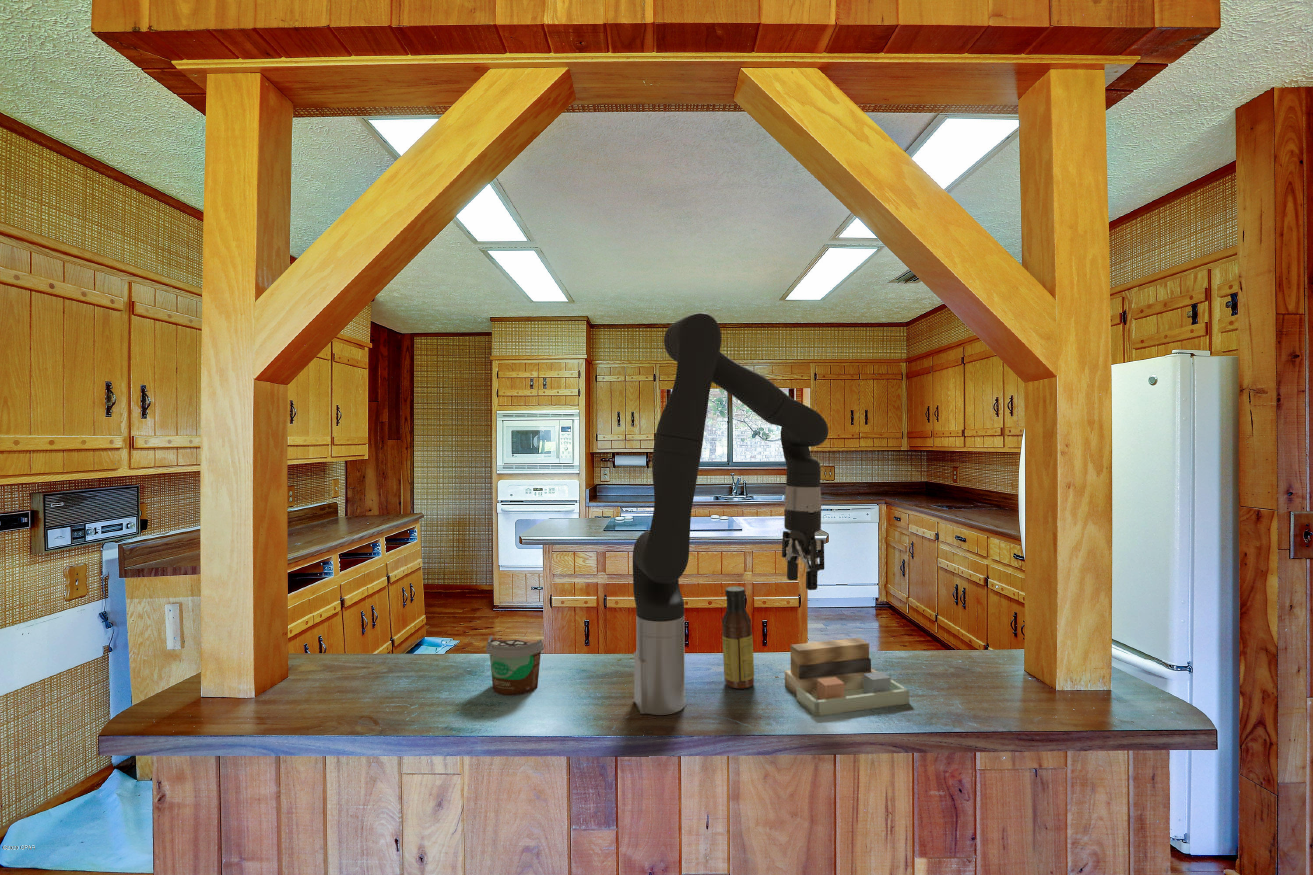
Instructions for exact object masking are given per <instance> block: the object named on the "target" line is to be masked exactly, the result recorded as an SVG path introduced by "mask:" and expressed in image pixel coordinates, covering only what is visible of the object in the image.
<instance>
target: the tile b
mask: <svg viewBox="0 0 1313 875" xmlns="http://www.w3.org/2000/svg"><path fill="white" fill-rule="evenodd" d="M891 680H892V679H891V677H890V676H889V675H888V674H886V673H883V672H882V671H877V672H874V673H866V674H863V694H869V693H876V692H884V691H891Z"/></svg>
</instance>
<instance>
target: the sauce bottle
mask: <svg viewBox="0 0 1313 875" xmlns="http://www.w3.org/2000/svg"><path fill="white" fill-rule="evenodd" d="M724 590H725V597H726V611H725V612H724V614H723V616H722V619H721V625H722V627H721V628H722V633H721V634H722V636H721V637H722V639H721V640H722V656H723V677H724V681H725V684H726V685H727V686H728V687H729V688H733V689H739V690H742V689H743V690H744V689H749V688H751V687H752V686H754V683H755V663H754V662H755V660H754V659H755V658H754V641H753V630H752V620H751V617H750V616H749V614H748V612H747V609H746V605H745V604H746V603H745V595H746V588H744V586H743V587H742V586H738V585H737V586H735V585H734V586H728V587H726V588H725V589H724Z"/></svg>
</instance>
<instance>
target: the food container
mask: <svg viewBox="0 0 1313 875" xmlns="http://www.w3.org/2000/svg"><path fill="white" fill-rule="evenodd" d="M542 640H543V639H542V638H540V639H539V640H537V641H534V642H527V641H524V640H519V639H509V640H501V639H494V638H493V635H490V636H489V638H488V641H487V642H486V648H485V652H486V653H487V654H488V655H489V659H490V660H489V662H490V670H491V671H490V672H491V681H492V689H493V692H494V693H496V694H497V695H501V696H508V697H509V696H510V697H513V696H521V695H525V693H526V694H528V692H529V693H531V692H533V691H535V690H536V689H538V688H537V687H538V686H539V678H540V677H539V676H540V666H541V665H540V663H541V657H542V656H541V654H542V651H544V650H545V648H544V647H545V646H544V642H543V641H542ZM534 689H535V690H534Z"/></svg>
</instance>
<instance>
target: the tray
mask: <svg viewBox="0 0 1313 875" xmlns="http://www.w3.org/2000/svg"><path fill="white" fill-rule="evenodd" d="M796 701H797V702H798V703H800V705H801V706H802V707H804V708H805V709H806V710H807V711H808V712H810V713H811V714H812V715H813V717H820V716H826V715H827V716H828V715H836V714H841V713H850V712H857V711H863V710H865V711H866V710H870V709H871V710H872V709H878V708H879V709H880V708H885V707H893V706H901V705H907V704H908V705H909V704H910V690H909V689H908V688H906V687H904V686H903V685H901V684H900V683H898V682H896V681H895V680H893V679H891V691H884V692H876V693H869V694H863V689H856V690H848V691H844V697H838V698H830V699H823V700H817V694H816V695H810V694H809V693H807V692H806V691H805V690H804V689H803V688H801V687H797V695H796Z"/></svg>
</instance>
